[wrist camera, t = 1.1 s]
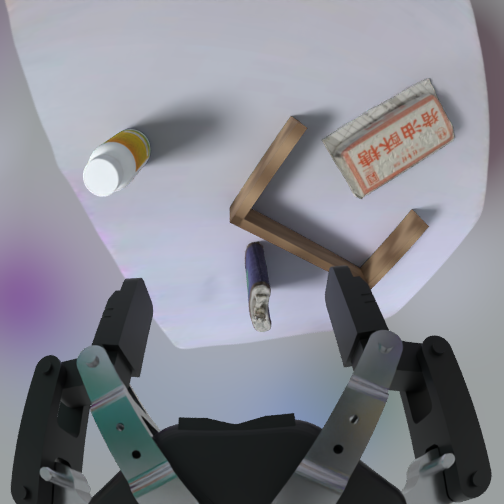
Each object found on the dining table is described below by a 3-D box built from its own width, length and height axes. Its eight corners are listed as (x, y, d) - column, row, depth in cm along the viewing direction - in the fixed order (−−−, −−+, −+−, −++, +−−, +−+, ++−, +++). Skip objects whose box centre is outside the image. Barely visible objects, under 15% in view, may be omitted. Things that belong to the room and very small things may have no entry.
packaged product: (367, 213, 34) (330, 148, 29) (354, 197, 38) (318, 138, 33) (468, 147, 29) (446, 80, 24) (448, 137, 33) (424, 76, 28)
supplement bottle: (121, 121, 30) (85, 142, 22) (158, 139, 32) (134, 165, 24) (105, 158, 32) (71, 190, 24) (140, 176, 34) (115, 212, 26)
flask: (266, 288, 46) (273, 342, 38) (247, 290, 46) (251, 344, 38) (263, 240, 41) (272, 293, 32) (242, 242, 41) (245, 295, 32)
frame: (290, 116, 31) (298, 121, 28) (415, 213, 39) (428, 226, 36) (229, 207, 38) (229, 222, 34) (359, 275, 46) (367, 292, 43)
